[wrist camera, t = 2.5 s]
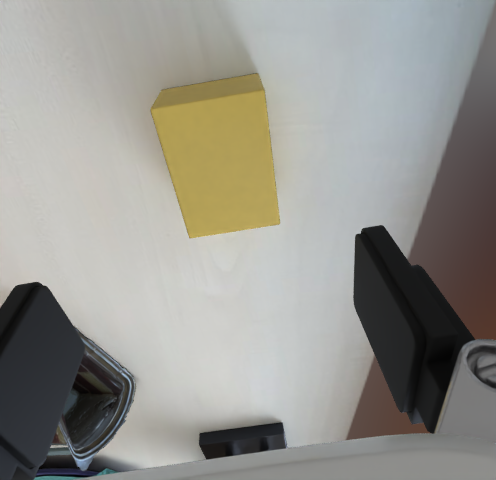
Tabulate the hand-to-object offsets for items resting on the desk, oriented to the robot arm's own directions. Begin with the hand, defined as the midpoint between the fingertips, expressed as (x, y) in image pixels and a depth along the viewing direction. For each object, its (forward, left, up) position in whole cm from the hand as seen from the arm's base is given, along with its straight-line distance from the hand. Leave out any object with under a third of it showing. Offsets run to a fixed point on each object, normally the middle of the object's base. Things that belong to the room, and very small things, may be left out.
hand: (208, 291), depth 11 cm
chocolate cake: (+17, +16, -12) cm, 26 cm away
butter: (0, 0, -11) cm, 11 cm away
